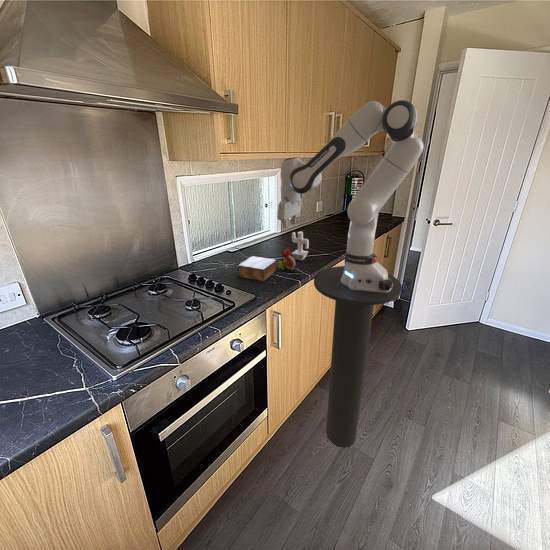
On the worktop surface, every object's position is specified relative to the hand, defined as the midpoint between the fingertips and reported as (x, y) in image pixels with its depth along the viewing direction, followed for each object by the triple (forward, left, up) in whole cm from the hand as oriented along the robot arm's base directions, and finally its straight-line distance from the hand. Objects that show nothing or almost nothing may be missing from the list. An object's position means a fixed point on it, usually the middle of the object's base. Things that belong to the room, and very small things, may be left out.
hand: (289, 225), depth 138 cm
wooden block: (+11, +12, -22) cm, 27 cm away
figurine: (0, -16, -22) cm, 28 cm away
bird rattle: (0, +1, -22) cm, 22 cm away
